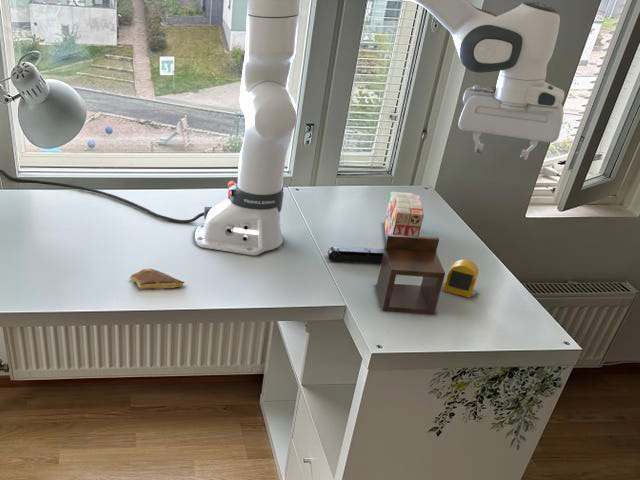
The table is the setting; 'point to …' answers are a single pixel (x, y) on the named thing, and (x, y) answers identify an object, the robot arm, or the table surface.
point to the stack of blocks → (403, 214)
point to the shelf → (410, 274)
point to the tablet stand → (355, 255)
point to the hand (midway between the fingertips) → (500, 155)
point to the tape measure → (462, 278)
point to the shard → (155, 279)
